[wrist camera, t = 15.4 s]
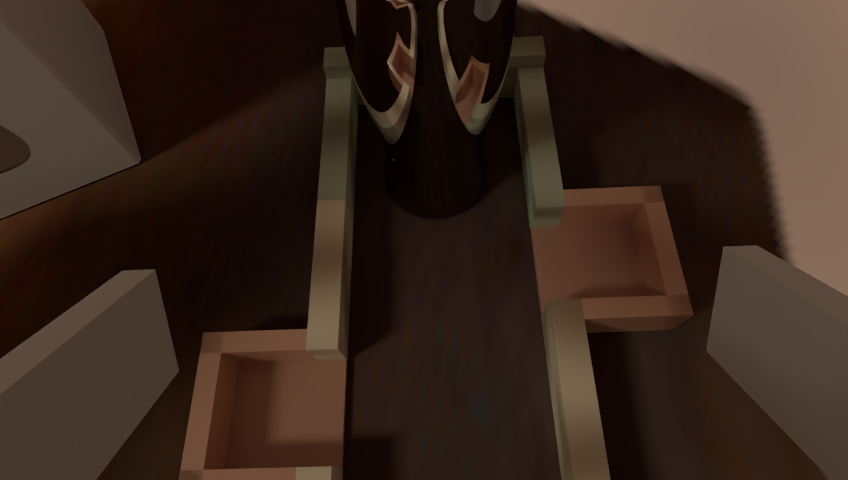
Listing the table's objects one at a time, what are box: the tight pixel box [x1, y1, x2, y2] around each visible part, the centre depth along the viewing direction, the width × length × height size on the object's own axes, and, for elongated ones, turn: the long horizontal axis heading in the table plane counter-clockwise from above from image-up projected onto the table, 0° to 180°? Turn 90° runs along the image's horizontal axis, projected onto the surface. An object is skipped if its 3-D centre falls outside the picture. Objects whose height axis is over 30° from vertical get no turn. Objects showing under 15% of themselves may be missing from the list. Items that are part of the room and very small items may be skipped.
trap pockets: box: [179, 185, 694, 480], centre depth 25 cm, size 14×23×2 cm, turn 92°
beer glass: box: [336, 0, 517, 218], centre depth 24 cm, size 7×7×15 cm
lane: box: [296, 36, 611, 480], centre depth 25 cm, size 31×13×4 cm, turn 2°
